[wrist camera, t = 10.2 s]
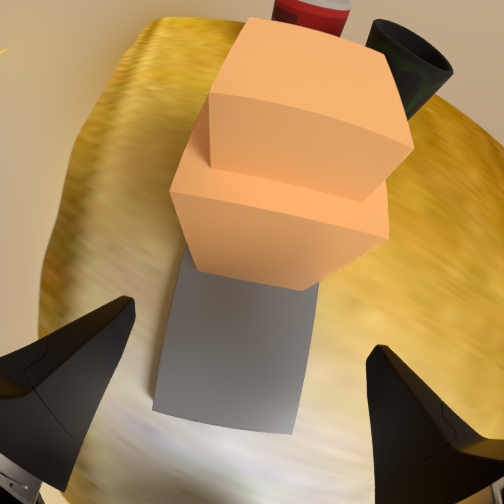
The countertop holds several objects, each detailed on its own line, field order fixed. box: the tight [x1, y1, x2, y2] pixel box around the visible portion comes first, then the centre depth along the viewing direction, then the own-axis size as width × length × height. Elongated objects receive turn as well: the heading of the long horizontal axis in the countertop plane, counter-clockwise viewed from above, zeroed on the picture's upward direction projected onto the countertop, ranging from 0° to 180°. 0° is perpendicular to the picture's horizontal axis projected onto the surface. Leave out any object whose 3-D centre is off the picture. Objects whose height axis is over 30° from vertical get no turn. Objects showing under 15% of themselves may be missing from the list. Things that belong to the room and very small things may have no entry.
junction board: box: [152, 243, 319, 434], centre depth 16 cm, size 16×9×4 cm, turn 170°
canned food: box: [271, 0, 352, 37], centre depth 22 cm, size 8×8×11 cm
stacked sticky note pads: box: [169, 17, 414, 291], centre depth 12 cm, size 7×7×13 cm
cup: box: [365, 19, 453, 121], centre depth 19 cm, size 8×8×12 cm
